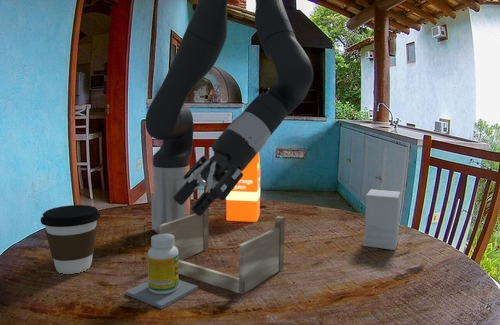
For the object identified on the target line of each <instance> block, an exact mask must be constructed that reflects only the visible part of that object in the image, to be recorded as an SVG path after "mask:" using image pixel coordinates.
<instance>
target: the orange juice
mask: <svg viewBox="0 0 500 325" xmlns="http://www.w3.org/2000/svg"><path fill="white" fill-rule="evenodd" d="M260 161H261V160H260V151H259V152H258V153H257V155H256V156H255V157H254V158H253V159H252V161H251V162H250V163H249V164H248V165H247V167H246V168H245V169H244V170H243V171H242V173H243V177H242V178H241V179H240V181H239V182H238V183H237V184H236V186H235V187H234V188H233V189H232V191H231V192H230V193H229V195H228V196H227V197H226V198H225V199H226V208H225V210H226V221H232V222H248V223H249V222H250V223H252V222H253V223H257V222H258V219H259V218H260V214H261V208H260V207H261V164H260V163H261V162H260Z"/></svg>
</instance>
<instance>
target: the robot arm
mask: <svg viewBox="0 0 500 325" xmlns="http://www.w3.org/2000/svg"><path fill="white" fill-rule="evenodd" d="M228 1H229V0H198V2H197V4H196V6H195V9H194V11H193V13H192V17H191V18H190V20H189V23H188V25H187V26H186V29H185V31H184V34H183V36H182V39H181V40H180V43H179V46H178V48H177V52H176V53H175V55H174V58H173V60H172V62H171V64H170V67H169V69H168V72H167V73H166V75H165V78H164V80H163V82H162V83H161V85H160V87H159V89H158V91H157V93H156V94H155V96H154V98H153V100H152V101H151V103H150V104H149V107H148V109H147V112H146V115H145V121H144V122H145V124H144V125H145V129H146V132H147V134H148V135H149V136H150V137H151V138H153V139H155V140H162V144H161V146H160V148H159V149H158V150H157V151H156V152H155V153H154V155H153V156H152V172H153V175H152V177H153V181H152V182H153V193H151V195H150V203H151V204H150V205H151V206H150V211H151V230H153V231H154V232H155V233H156V234H160V232H159V225H161V224H164V223H168V222H171V221H174V220H177V219H180V218H183V217H186V216H189V215H191V211H192V212H193V214H196V215H198V216H201V215H202V214H203V213H204V212H205V211H206V209H207V208H208V209H209V207H210V206H211V205H212V203H213V202H214V201H215V202H216V201H218V200H221V201H224V200H225V199H226V197H227V196H228V195H229V193H230V192H231V191H232V189H233V188H234V187H235V186H236V184H237V183H238V182H239V181H240V179H241V178H242V177H243V173H242V171H243V170H244V169H245V168H246V167H247V165H248V164H249V163H250V162H251V161H252V159H253V158H254V157H255V156H256V155H257V153H258V152H259V153H260V151H261V150H262V148H264V147H265V145H266V143H267V142H268V140H269V139H270V138H271V136H272V134H273V133H275V131H276V130H277V129H278V128H279V126H280V125H281V124H282V123H283V121H284V120H285V118H286V117H287V116H289V115H290V114H291V113H292V112H294V110H296V108H297V107H299V105H301V103H302V102H303V101H304V100H305V98H306V96H307V95H308V92H309V91H310V88H311V86H312V83H313V80H314V68H313V64H312V63H311V62H312V61H311V60H310V58H309V56H308V55H307V53H306V52H305V50H304V48H303V47H302V45H301V44H300V43H299V41H297V37H296V35H295V32H294V29H293V27H292V25H291V22H290V20H289V16H288V13H287V11H286V8H285V6H284V3H283V0H255V9H254V25H255V26H254V27H255V29H256V33H257V36H258V38H259V39H258V40H259V42H260V45H261V46H262V50H263V52H264V54H265V56H266V58H267V59H268V60H269V61H271V62H272V63H273V65H274V68H275V72H276V76H275V81H274V82H273V84H272V86H270V88H268V90H267V91H265V92H263V93H259V94H258V95H257V96H256V97H254V99H253V100H252V101H251V102H250V103H249V105H247V107H246V108H245V109H244V110H243V111H242V112H241V113H240V114H239V115H238V116H237V117H235V119H234V120H232V122H231V123H230V124H229V125H228V126H227V127H226V129H225V130H224V131H223V132H222V133H221V134H220V136H218V138H217V139H216V140H215V141H214V142H213V143H212V145H211V149H212V151H213V155H212V156H211V157H210V158H209V159H208V158H207V157H206V155H202V156H201V157H200V158H199V159H198V160H197V161H196V162H195V164H194V165H192V167H190V166H191V164H190V160H191V157H192V154H193V149H194V148H193V147H194V146H193V144H194V117H193V114H192V110H191V109H190V108H189V107H188V106H187V105H186V104H185V102H186V100H187V98H188V97H189V94H190V93H191V92H192V90H193V89H194V88H196V86H197V85H198V84H199V83H200V82H201V81H202V80H203V79H204V77H206V75H207V74H208V73H209V72H210V71H211V70H212V69H213V67H214V65H215V63H216V62H217V60H218V58H219V57H220V54H221V52H222V50H223V47H225V43H226V40H227V37H228V36H227V35H228V15H227V14H228ZM202 186H203V187H206V189H205V191H204V192H203V193H202V194H201V195H200V196H199V198H197V200H196V201H195V202H193V204H192V205H191V196H192V195H193V193H194V192H195V191H196V190H197V189H199V188H200V187H202Z"/></svg>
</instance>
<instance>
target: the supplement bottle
mask: <svg viewBox="0 0 500 325" xmlns="http://www.w3.org/2000/svg"><path fill="white" fill-rule="evenodd" d="M150 239H151V240H150V244H151V247H150V248H149V249H148V251H147V281H148V288H149V290H150V291H151V292H153V293H155V294H169V293H172V292H174V291H176V290H177V289H178V286H179V280H180V277H179V275H180V274H179V253H178V249H177V248H176V247H175V246H173V245H174V243H175V239H174V235H172V234H158V233H156V234H154V235H152V236H151V237H150Z"/></svg>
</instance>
